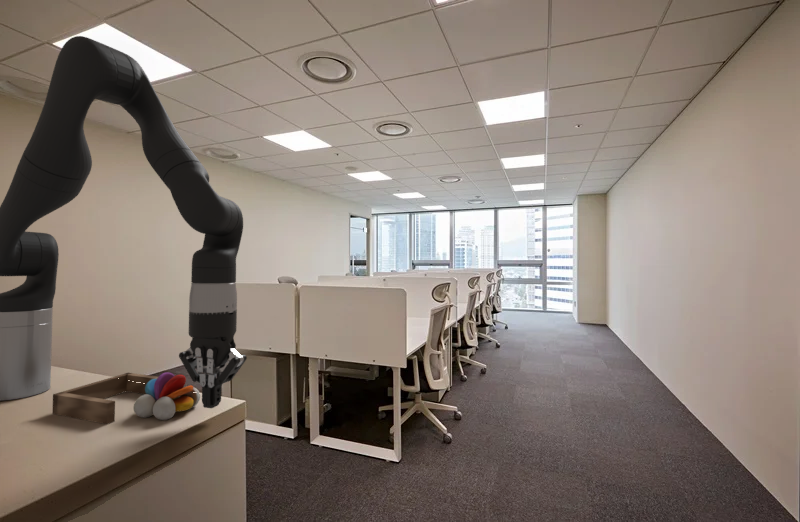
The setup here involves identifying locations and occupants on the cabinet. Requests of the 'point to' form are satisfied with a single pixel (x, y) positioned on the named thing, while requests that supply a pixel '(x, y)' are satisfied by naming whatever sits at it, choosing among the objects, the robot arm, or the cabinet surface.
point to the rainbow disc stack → (166, 397)
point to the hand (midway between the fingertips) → (211, 406)
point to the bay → (97, 397)
